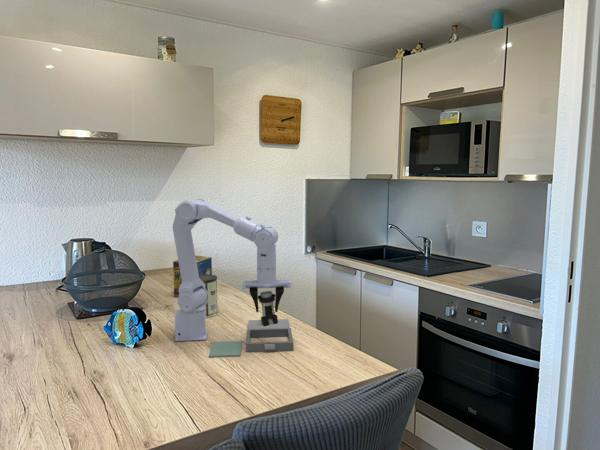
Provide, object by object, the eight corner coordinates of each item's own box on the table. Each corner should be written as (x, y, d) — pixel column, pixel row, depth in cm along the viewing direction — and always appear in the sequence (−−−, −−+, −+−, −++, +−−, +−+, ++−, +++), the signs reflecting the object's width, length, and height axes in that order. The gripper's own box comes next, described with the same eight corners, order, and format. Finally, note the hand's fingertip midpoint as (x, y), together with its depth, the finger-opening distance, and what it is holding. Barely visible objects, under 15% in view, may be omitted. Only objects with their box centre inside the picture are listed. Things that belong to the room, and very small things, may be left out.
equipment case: (245, 353, 134) (245, 345, 133) (248, 323, 160) (248, 316, 160) (293, 351, 135) (293, 343, 135) (288, 322, 161) (288, 315, 161)
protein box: (173, 297, 194) (172, 261, 193) (192, 288, 209) (191, 255, 207) (195, 299, 191) (194, 262, 190) (212, 290, 206) (212, 256, 204)
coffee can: (194, 309, 177) (193, 273, 175) (220, 310, 176) (220, 274, 174) (185, 317, 167) (184, 280, 165) (213, 318, 166) (212, 280, 164)
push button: (260, 329, 137) (256, 297, 136) (254, 324, 142) (251, 293, 140) (280, 324, 140) (277, 292, 138) (274, 319, 144) (271, 289, 143)
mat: (208, 357, 131) (208, 355, 131) (212, 343, 142) (212, 341, 141) (240, 356, 131) (240, 354, 131) (242, 342, 142) (241, 340, 142)
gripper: (241, 270, 134) (242, 315, 135) (291, 269, 135) (291, 314, 137) (242, 265, 141) (243, 308, 142) (289, 265, 142) (289, 307, 144)
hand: (266, 311), depth 140 cm, fingers closed on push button, 5 cm apart
